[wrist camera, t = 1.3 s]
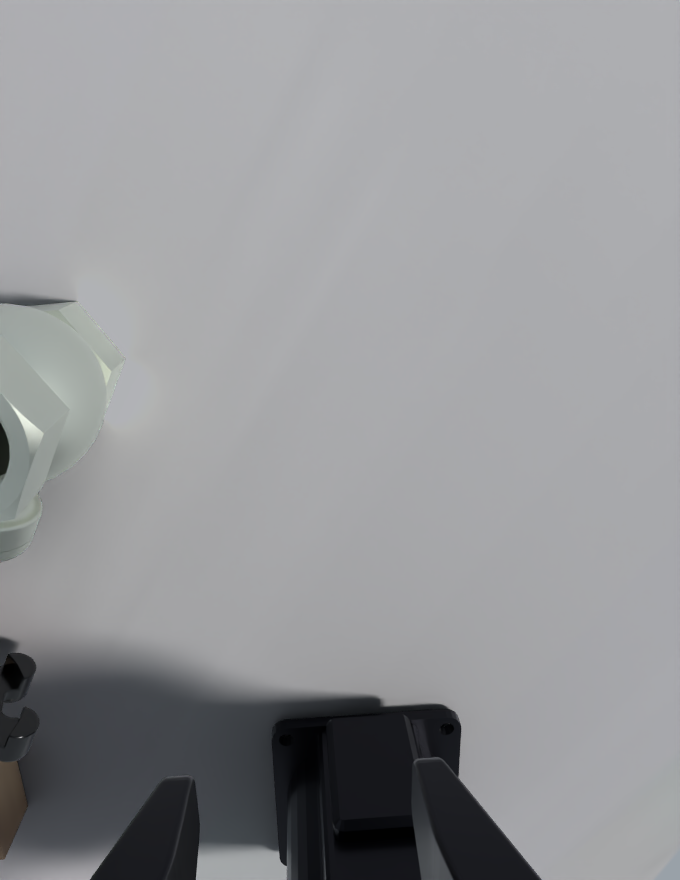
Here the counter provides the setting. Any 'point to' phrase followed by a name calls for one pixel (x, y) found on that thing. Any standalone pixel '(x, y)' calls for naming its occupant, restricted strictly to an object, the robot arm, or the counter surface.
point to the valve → (43, 444)
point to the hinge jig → (10, 804)
